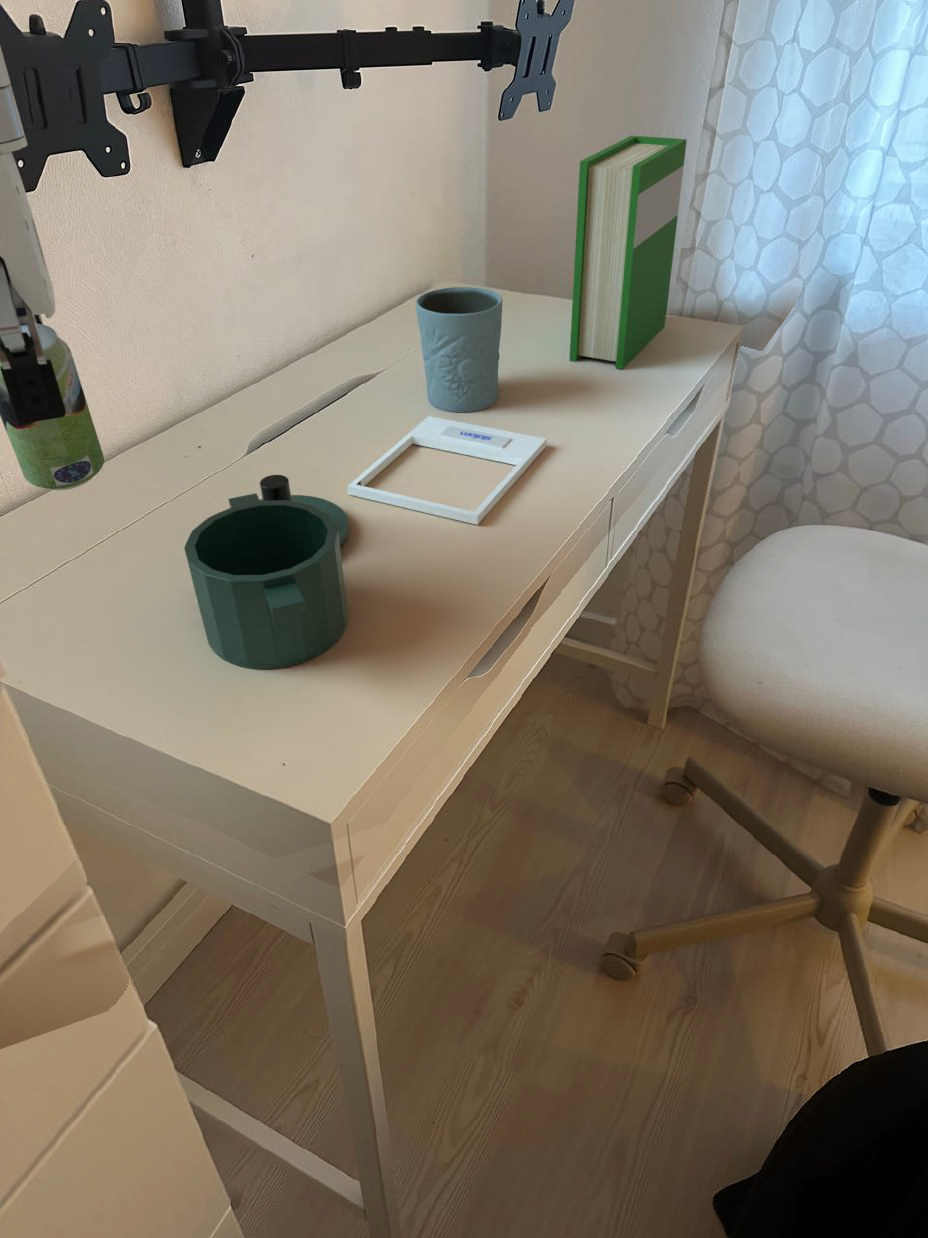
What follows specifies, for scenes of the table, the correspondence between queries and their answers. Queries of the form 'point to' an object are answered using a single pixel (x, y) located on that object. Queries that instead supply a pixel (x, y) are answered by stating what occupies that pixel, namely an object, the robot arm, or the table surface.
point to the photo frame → (456, 440)
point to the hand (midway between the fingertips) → (41, 398)
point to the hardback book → (625, 246)
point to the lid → (303, 501)
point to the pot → (268, 582)
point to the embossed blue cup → (460, 346)
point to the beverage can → (55, 427)
